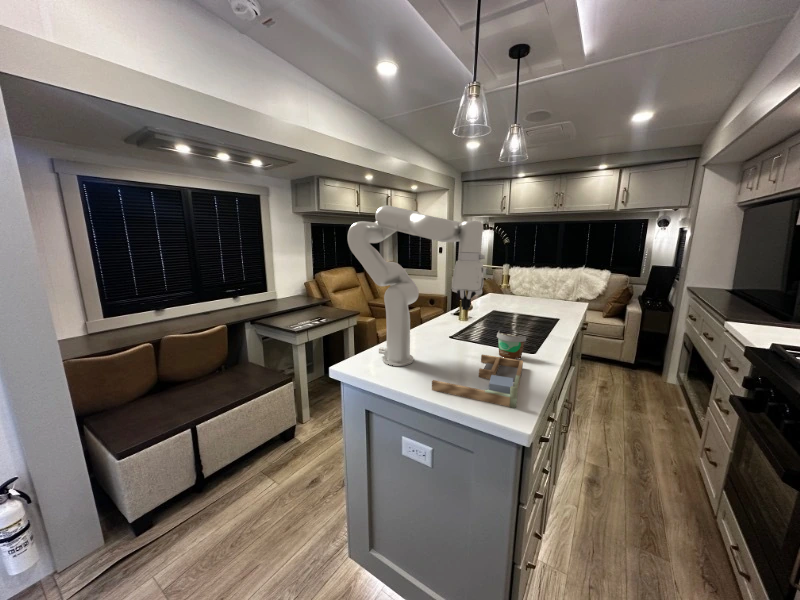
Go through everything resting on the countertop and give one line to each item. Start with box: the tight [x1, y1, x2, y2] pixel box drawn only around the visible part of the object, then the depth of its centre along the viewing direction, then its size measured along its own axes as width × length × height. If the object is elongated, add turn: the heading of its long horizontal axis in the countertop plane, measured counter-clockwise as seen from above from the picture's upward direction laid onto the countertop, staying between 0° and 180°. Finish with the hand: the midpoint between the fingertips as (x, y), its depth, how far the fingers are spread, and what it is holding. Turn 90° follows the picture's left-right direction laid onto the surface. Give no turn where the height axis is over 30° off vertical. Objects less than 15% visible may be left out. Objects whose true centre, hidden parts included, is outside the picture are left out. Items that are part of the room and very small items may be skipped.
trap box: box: [431, 354, 524, 409], centre depth 109 cm, size 26×33×6 cm
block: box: [488, 375, 514, 394], centre depth 100 cm, size 7×7×4 cm
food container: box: [496, 330, 527, 360], centre depth 129 cm, size 12×6×10 cm, turn 47°
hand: (465, 309), depth 110 cm, fingers closed
